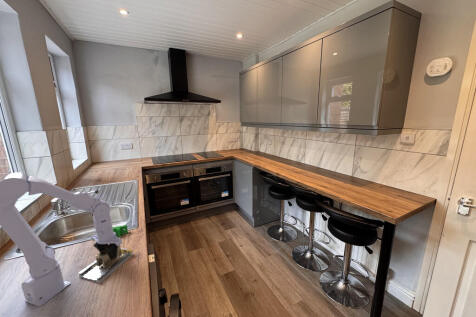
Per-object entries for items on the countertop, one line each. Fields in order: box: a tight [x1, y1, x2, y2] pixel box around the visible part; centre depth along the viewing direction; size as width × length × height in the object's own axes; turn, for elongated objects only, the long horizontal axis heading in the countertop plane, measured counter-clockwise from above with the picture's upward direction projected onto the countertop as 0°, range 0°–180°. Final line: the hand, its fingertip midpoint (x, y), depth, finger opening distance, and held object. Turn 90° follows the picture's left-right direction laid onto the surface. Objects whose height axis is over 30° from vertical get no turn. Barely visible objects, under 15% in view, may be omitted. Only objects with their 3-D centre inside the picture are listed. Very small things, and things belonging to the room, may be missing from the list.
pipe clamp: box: [112, 224, 129, 238], centre depth 101 cm, size 11×4×5 cm, turn 111°
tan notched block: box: [95, 244, 122, 268], centre depth 81 cm, size 8×4×5 cm, turn 163°
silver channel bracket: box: [77, 246, 134, 284], centre depth 81 cm, size 16×11×3 cm
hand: (109, 256), depth 82 cm, fingers closed on tan notched block, 4 cm apart
